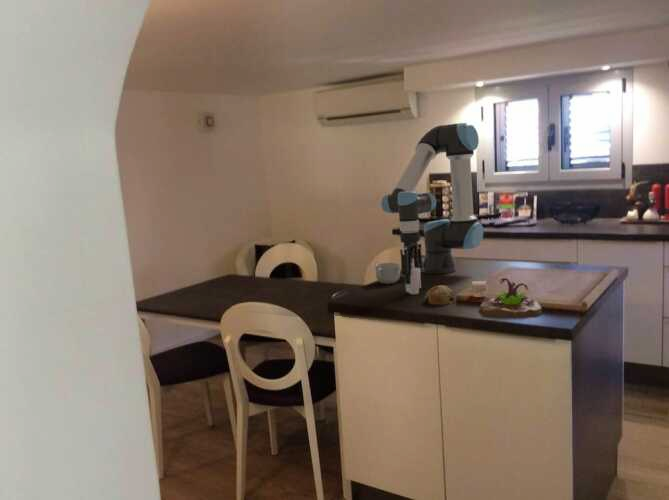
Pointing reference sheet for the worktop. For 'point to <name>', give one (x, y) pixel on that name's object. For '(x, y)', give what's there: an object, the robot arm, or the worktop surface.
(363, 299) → the worktop surface
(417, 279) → the smoothie
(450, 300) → the bread roll
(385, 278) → the teacup
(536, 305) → the plant
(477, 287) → the birch block
